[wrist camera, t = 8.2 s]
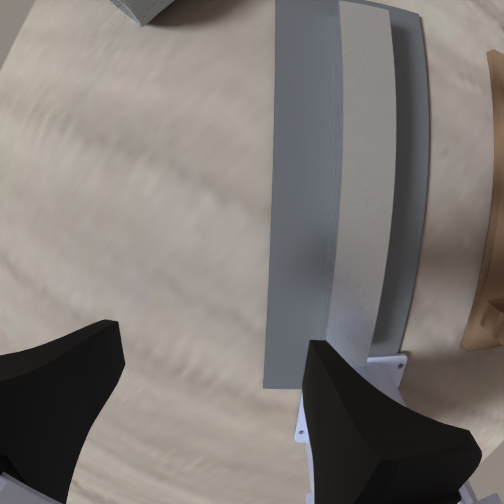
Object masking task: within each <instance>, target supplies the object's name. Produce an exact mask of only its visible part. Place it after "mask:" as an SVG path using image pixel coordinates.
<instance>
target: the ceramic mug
mask: <svg viewBox="0 0 504 504" xmlns="http://www.w3.org/2000/svg"><path fill="white" fill-rule="evenodd" d="M107 1H108V2H110V3H111V4H112V5H113V6H114V7H116V8H117V9H118V10H119V11H120V12H121V13H122V14H123V15H124V16H126V17H127V18H128V19H129V20H130V21H132V22H133V23H134V24H136V25H137V26H140V27H143V26H144V25H146V24H147V23H148V22H150V21H151V20H152V19H153V18H154V17H155V16H156V15H157V14H158V13H160V12H161V11H162V10H163V9H165V8H166V7H167V6H168V5H170V4H171V3H172V2H173V1H175V0H107Z"/></svg>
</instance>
